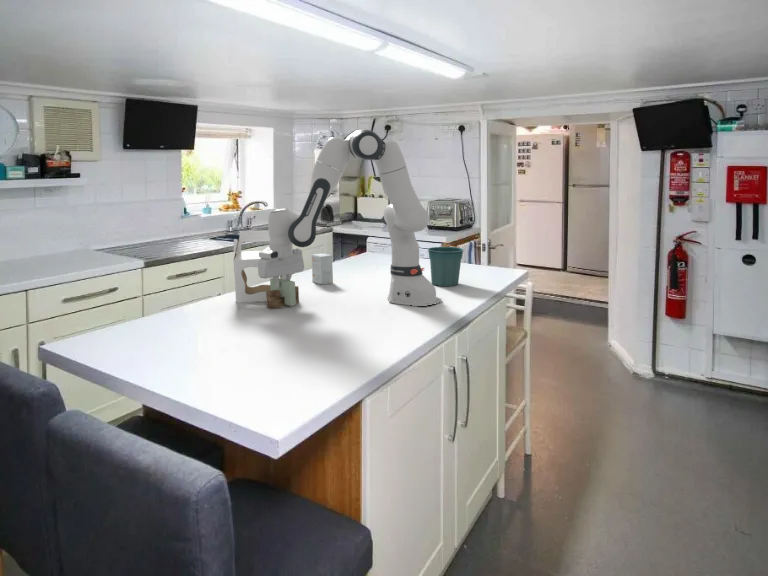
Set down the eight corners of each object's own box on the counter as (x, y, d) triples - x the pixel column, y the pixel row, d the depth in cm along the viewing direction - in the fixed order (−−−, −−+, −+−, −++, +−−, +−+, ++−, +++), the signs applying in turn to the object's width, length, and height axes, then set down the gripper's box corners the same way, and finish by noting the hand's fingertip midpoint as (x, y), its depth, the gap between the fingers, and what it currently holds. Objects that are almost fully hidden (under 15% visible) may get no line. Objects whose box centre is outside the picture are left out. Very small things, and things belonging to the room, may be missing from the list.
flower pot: (436, 278, 276) (437, 245, 272) (468, 282, 268) (469, 247, 264) (420, 285, 262) (421, 250, 259) (454, 289, 254) (455, 253, 250)
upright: (294, 301, 234) (294, 285, 232) (299, 302, 232) (298, 286, 231) (267, 308, 223) (266, 291, 222) (271, 309, 222) (270, 292, 220)
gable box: (290, 292, 248) (288, 227, 242) (291, 300, 236) (289, 231, 230) (237, 295, 244) (233, 229, 238) (235, 303, 232) (231, 233, 226)
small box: (333, 283, 267) (332, 255, 265) (321, 284, 264) (320, 256, 261) (323, 280, 274) (322, 252, 271) (312, 282, 270) (311, 254, 267)
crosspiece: (296, 304, 225) (294, 281, 223) (291, 305, 223) (289, 282, 221) (276, 299, 232) (275, 277, 230) (271, 300, 230) (269, 278, 228)
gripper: (296, 247, 233) (297, 280, 236) (254, 253, 218) (256, 289, 221) (306, 248, 229) (308, 282, 232) (265, 255, 213) (267, 291, 217)
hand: (282, 286), depth 226 cm, fingers open, 3 cm apart
